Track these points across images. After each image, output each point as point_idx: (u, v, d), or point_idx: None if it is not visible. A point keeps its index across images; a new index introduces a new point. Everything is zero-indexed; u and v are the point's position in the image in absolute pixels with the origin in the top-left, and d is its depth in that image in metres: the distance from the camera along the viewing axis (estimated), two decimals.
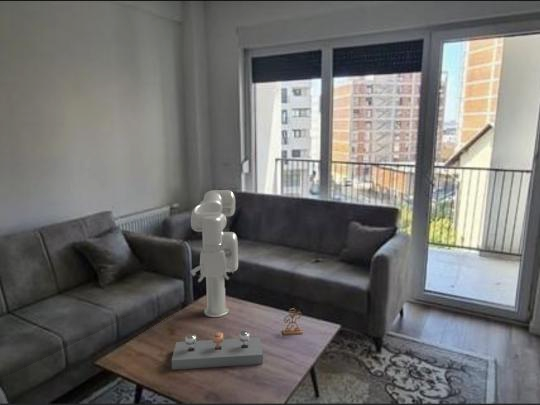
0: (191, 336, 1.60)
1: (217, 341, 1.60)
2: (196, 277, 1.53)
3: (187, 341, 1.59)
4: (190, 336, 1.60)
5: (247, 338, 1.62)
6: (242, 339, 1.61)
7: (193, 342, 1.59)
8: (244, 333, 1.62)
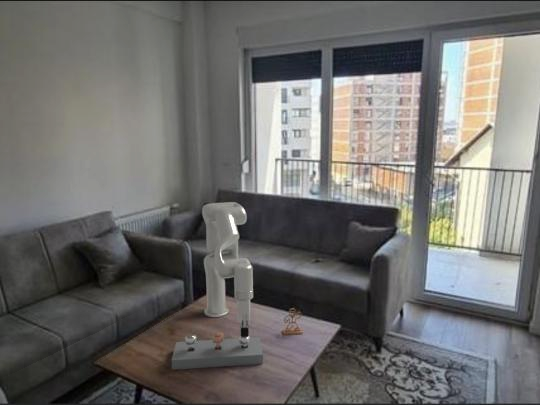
0: (191, 336, 1.60)
1: (217, 341, 1.60)
2: None
3: (187, 341, 1.59)
4: (190, 336, 1.60)
5: (247, 341, 1.62)
6: (242, 342, 1.62)
7: (193, 342, 1.59)
8: None
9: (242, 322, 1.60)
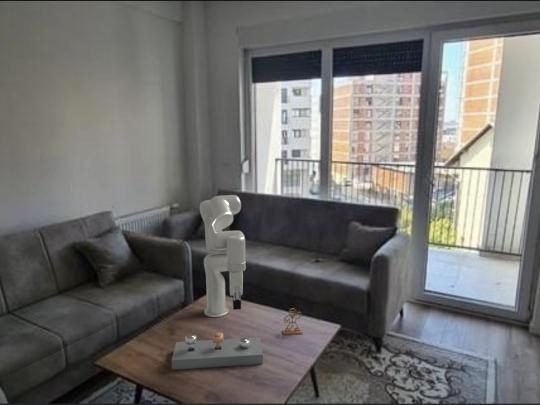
0: (191, 336, 1.60)
1: (217, 341, 1.60)
2: None
3: (187, 341, 1.59)
4: (190, 336, 1.60)
5: (247, 345, 1.62)
6: (242, 346, 1.62)
7: (193, 342, 1.59)
8: (244, 340, 1.63)
9: (234, 294, 1.58)
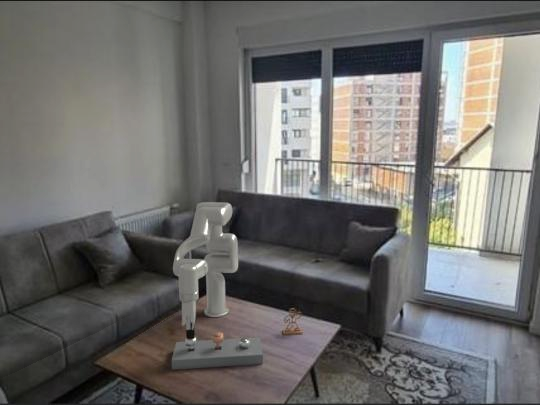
0: None
1: (217, 341, 1.60)
2: None
3: (187, 343, 1.59)
4: None
5: (247, 345, 1.62)
6: (242, 346, 1.62)
7: (193, 344, 1.60)
8: (244, 340, 1.63)
9: (187, 324, 1.57)
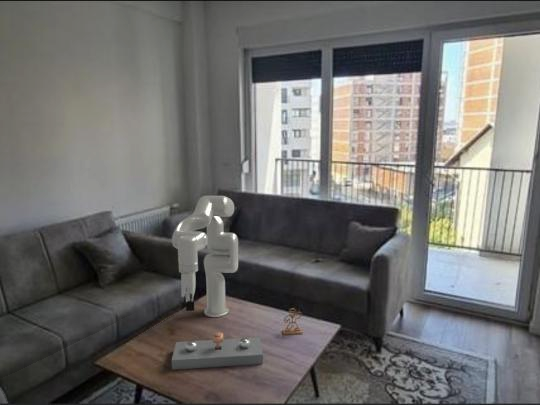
0: (191, 343, 1.61)
1: (217, 341, 1.60)
2: (191, 298, 1.56)
3: (187, 348, 1.60)
4: (190, 343, 1.61)
5: (247, 345, 1.62)
6: (242, 346, 1.62)
7: (193, 349, 1.60)
8: (244, 340, 1.63)
9: (186, 296, 1.56)
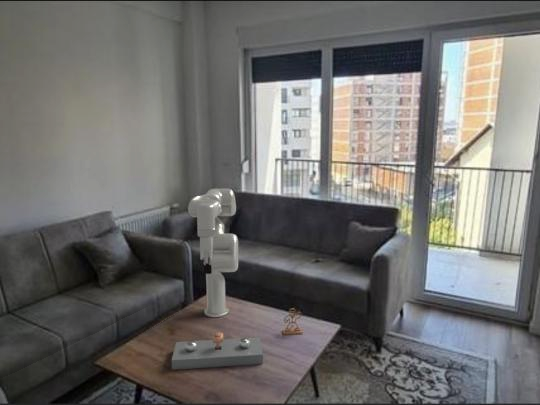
0: (191, 343, 1.61)
1: (217, 341, 1.60)
2: None
3: (187, 348, 1.60)
4: (190, 343, 1.61)
5: (247, 345, 1.62)
6: (242, 346, 1.62)
7: (193, 349, 1.60)
8: (244, 340, 1.63)
9: (205, 259, 1.67)
